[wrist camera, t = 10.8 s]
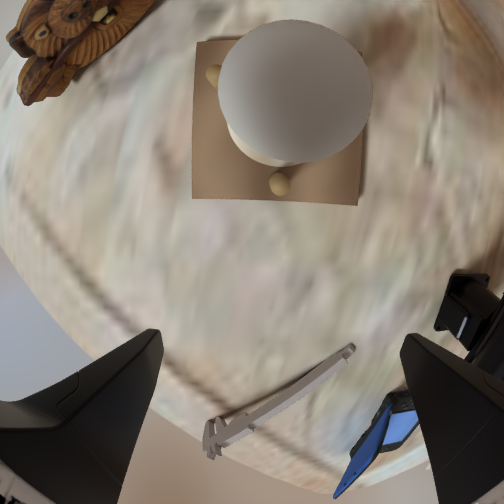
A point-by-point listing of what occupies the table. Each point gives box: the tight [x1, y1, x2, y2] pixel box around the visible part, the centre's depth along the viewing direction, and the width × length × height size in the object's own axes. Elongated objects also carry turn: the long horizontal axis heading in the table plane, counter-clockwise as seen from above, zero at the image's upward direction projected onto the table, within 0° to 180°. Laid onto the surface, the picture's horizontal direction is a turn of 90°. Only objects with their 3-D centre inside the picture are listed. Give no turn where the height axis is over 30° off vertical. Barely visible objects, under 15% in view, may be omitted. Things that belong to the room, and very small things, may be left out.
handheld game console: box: [333, 391, 419, 499], centre depth 26 cm, size 16×13×9 cm
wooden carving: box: [6, 0, 155, 106], centre depth 11 cm, size 16×5×10 cm, turn 135°
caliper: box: [202, 344, 355, 460], centre depth 25 cm, size 20×1×6 cm, turn 131°
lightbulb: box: [218, 20, 373, 163], centre depth 12 cm, size 6×6×11 cm
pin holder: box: [192, 40, 363, 206], centre depth 16 cm, size 12×12×4 cm
